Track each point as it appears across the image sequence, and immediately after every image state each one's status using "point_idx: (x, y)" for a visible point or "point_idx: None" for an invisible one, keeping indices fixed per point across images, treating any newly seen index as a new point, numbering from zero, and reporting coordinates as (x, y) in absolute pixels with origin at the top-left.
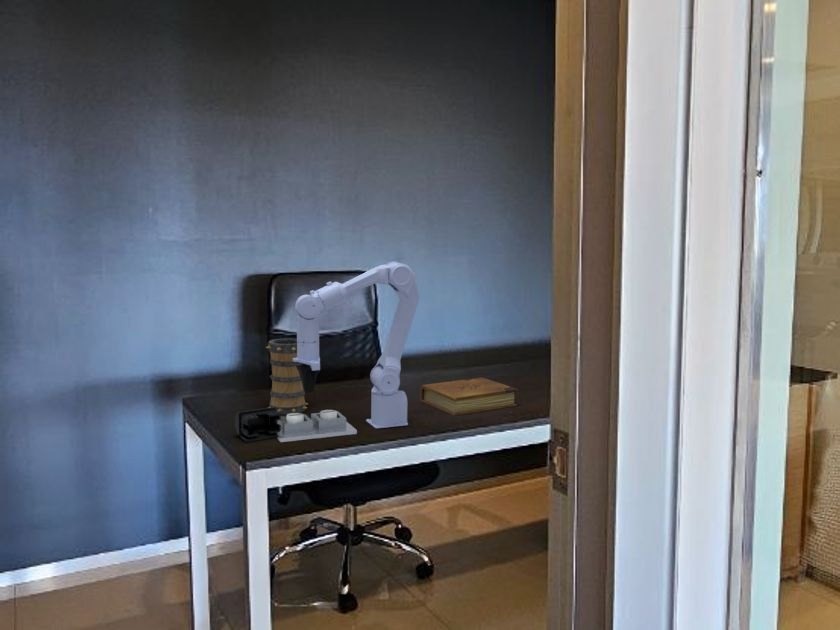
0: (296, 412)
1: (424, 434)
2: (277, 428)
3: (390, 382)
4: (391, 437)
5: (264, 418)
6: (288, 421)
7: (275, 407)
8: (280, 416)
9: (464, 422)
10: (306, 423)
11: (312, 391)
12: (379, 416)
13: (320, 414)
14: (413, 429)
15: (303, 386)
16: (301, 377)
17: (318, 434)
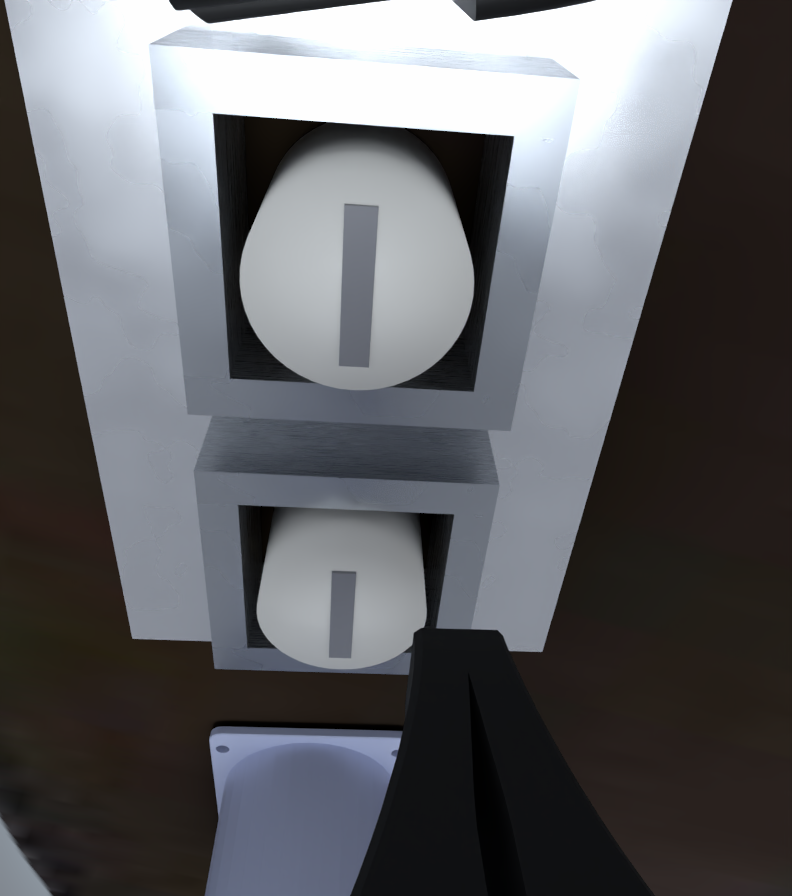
0: None
1: (42, 846)
2: None
3: None
4: (13, 734)
5: None
6: (311, 160)
7: (475, 13)
8: (182, 7)
9: None
10: (185, 340)
11: (405, 712)
12: (236, 816)
13: (344, 540)
14: (150, 838)
15: (478, 702)
16: (550, 872)
17: (80, 371)
